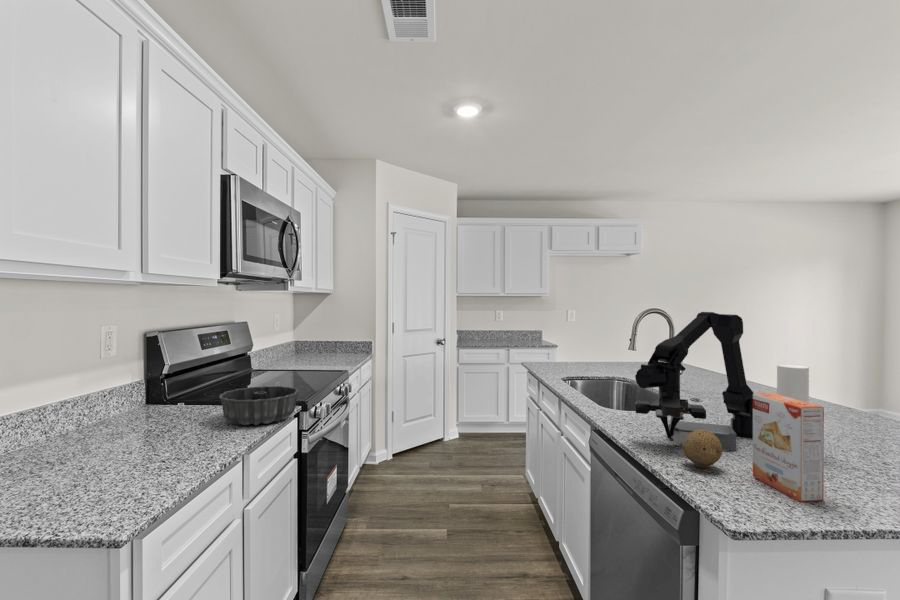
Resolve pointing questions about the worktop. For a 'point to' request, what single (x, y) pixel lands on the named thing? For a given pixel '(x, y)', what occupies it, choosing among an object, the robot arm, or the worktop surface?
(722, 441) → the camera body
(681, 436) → the side cover
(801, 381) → the cylindrical container
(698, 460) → the potato
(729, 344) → the robot arm
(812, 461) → the cracker box
